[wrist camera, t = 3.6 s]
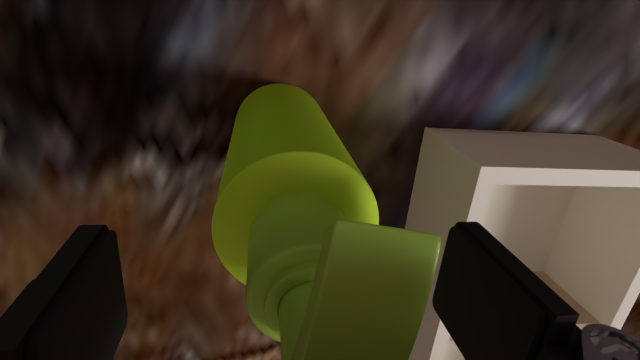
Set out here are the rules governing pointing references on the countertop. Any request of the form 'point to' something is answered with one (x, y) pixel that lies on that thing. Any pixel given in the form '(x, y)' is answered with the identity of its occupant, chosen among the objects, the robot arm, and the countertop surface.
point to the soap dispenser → (315, 238)
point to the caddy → (535, 215)
